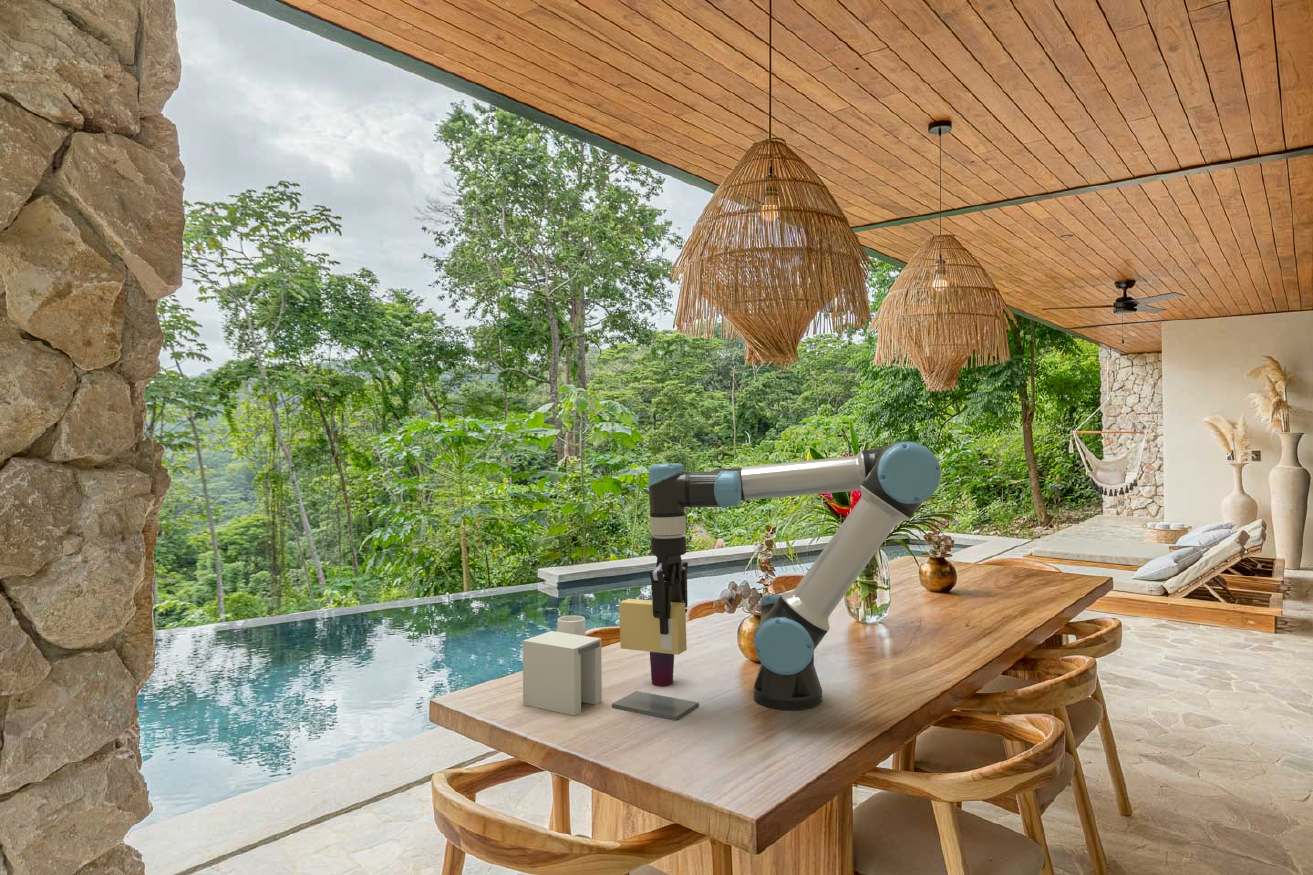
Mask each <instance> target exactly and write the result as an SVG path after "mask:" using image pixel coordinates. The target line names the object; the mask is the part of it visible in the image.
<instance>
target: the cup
mask: <svg viewBox="0 0 1313 875" xmlns="http://www.w3.org/2000/svg"><path fill="white" fill-rule="evenodd" d="M649 662H650V663H649V664H650V677H651V684H652V685H653V686H655V687H668V686H671V685H673V682H674V665H675V654H667V653H658V652H649Z"/></svg>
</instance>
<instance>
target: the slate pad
mask: <svg viewBox="0 0 1313 875" xmlns="http://www.w3.org/2000/svg"><path fill="white" fill-rule="evenodd" d="M699 706H700V702H699V701H692V700H686V699H683V698H682V699H681V698H677V697H671V696H666V695H661V694H656V693H650V692H644V691H639V690H636V691H633V692H631V693H630V694H629V693H628V694H627V695H626V696H623V697H622V698H620V699H618V700H616V701H614V702H612V703H611V708H612V709H617V710H622V711H627V712H633V713H638V714H641V715H648V716H652V717H657V718H662V719H667V720H671V721H678V720H679V719H681V718H683V717H685V715H687V714H689V713H690V712H692V711H694V710H695V709H697V708H699Z"/></svg>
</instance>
